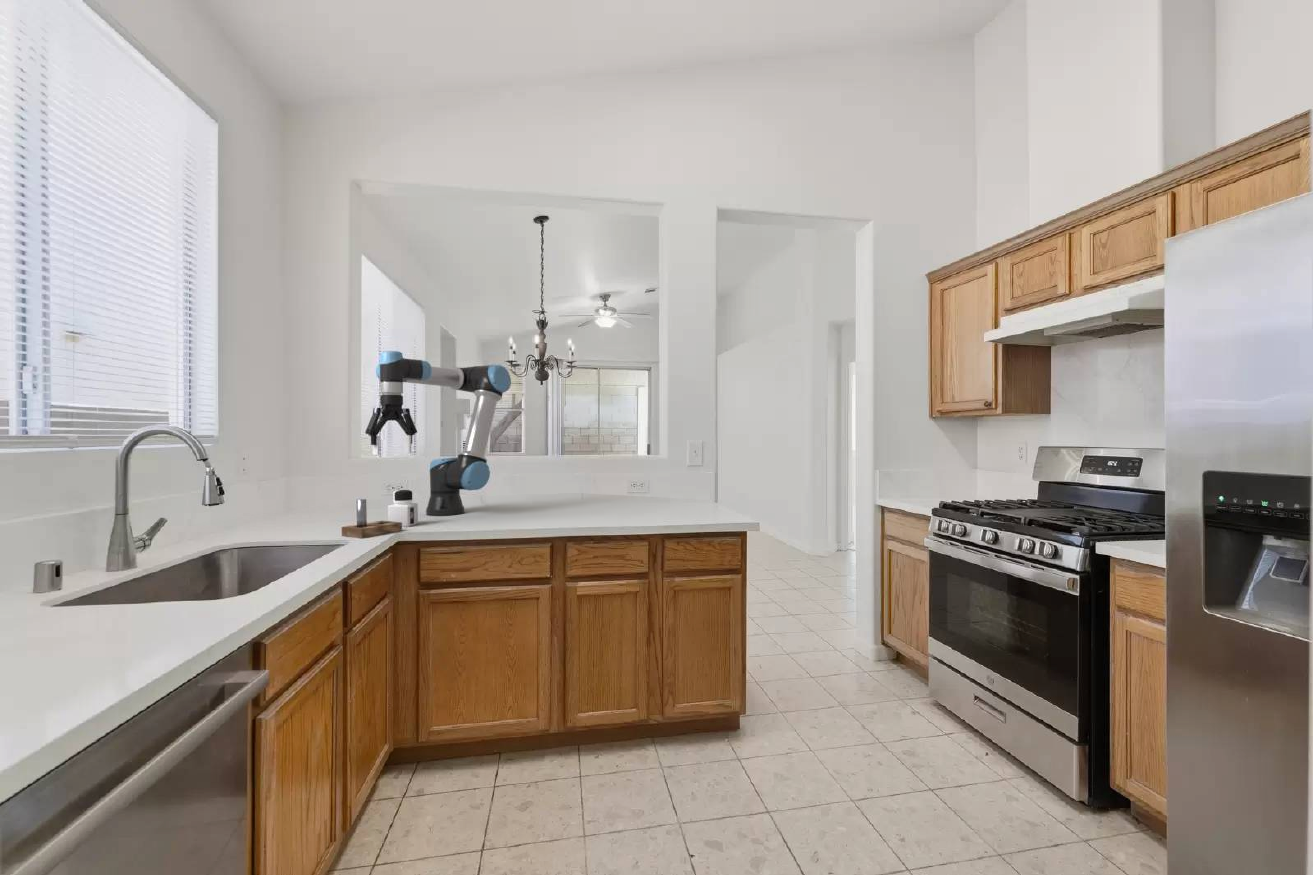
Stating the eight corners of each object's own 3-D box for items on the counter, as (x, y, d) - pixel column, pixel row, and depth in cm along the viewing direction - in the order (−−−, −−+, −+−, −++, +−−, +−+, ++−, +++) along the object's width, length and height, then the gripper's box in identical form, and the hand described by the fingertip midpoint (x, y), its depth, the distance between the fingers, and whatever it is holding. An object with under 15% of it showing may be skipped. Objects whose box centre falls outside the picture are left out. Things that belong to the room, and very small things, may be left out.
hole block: (382, 528, 223) (382, 520, 223) (402, 530, 218) (401, 522, 218) (341, 535, 209) (341, 527, 209) (361, 538, 204) (361, 529, 204)
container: (418, 523, 234) (417, 489, 234) (408, 527, 227) (407, 491, 227) (398, 523, 235) (398, 489, 235) (387, 526, 228) (387, 491, 227)
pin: (362, 534, 212) (362, 498, 212) (368, 534, 211) (368, 499, 210) (355, 535, 209) (354, 499, 209) (360, 536, 208) (360, 500, 208)
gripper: (412, 396, 237) (413, 452, 237) (353, 393, 215) (354, 455, 215) (426, 395, 233) (427, 452, 234) (368, 392, 211) (369, 455, 212)
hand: (392, 453), depth 224 cm, fingers open, 13 cm apart
